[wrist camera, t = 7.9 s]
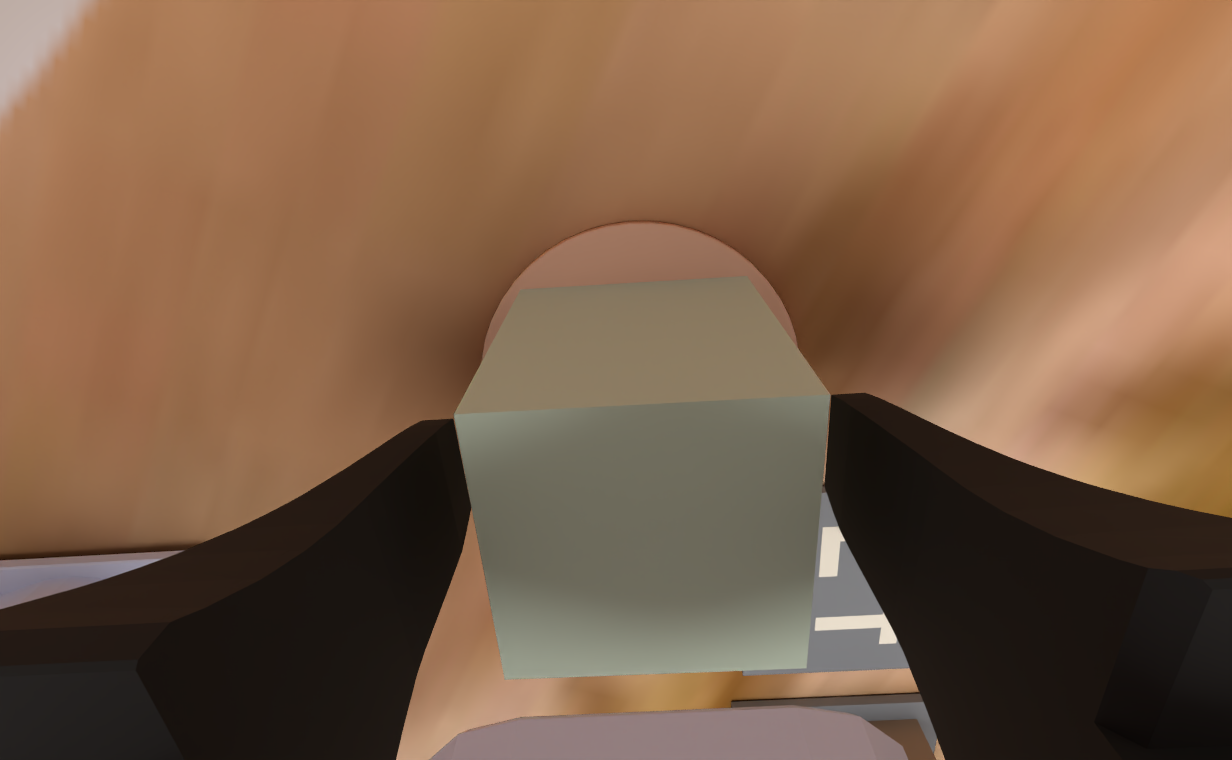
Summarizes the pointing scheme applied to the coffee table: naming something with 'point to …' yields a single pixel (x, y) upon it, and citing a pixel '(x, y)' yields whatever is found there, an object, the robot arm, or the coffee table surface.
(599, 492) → the sage block
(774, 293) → the tan round disc
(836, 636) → the code card
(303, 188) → the coffee table surface
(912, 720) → the walnut block
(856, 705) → the code card
